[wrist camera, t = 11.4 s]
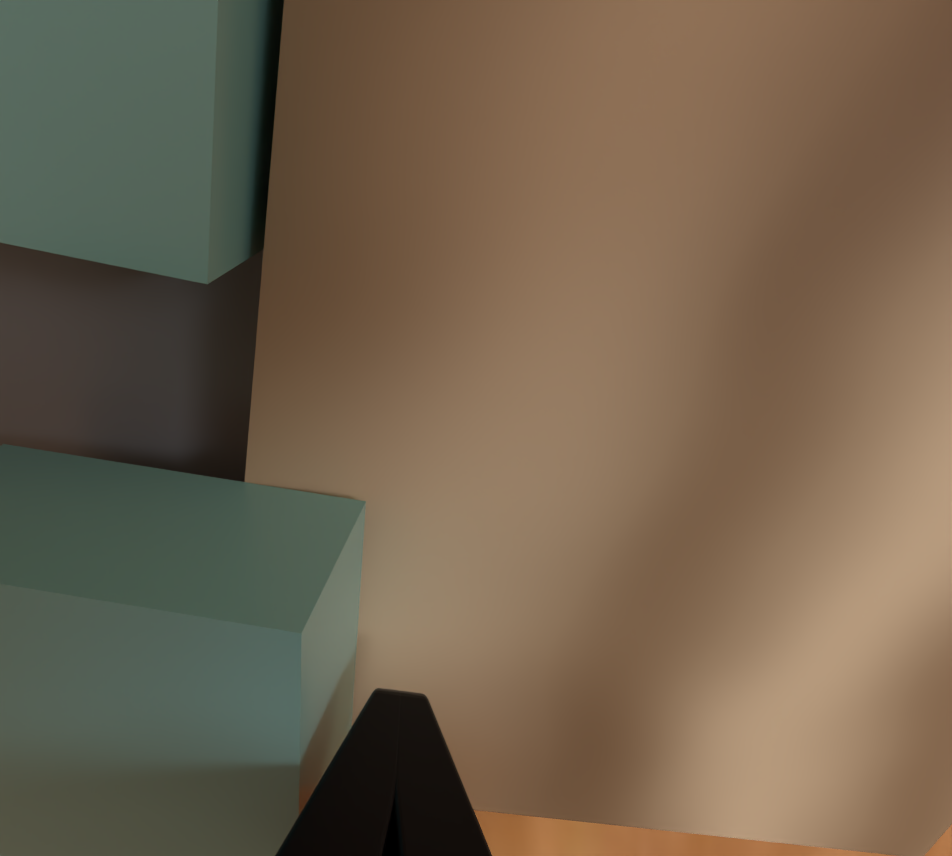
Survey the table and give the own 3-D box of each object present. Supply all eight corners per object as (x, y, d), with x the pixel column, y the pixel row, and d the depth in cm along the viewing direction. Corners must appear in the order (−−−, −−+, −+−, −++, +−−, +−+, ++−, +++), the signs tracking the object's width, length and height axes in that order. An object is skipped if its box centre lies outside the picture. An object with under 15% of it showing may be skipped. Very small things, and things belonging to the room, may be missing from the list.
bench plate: (1464, -56, 8) (1762, -110, 6) (863, 767, 15) (921, 858, 13) (374, -466, 6) (343, -714, 4) (251, 690, 13) (219, 782, 11)
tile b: (365, 501, 8) (301, 633, 6) (349, 757, 10) (297, 928, 8) (4, 444, 8) (-195, 552, 6) (58, 708, 10) (-73, 861, 8)
